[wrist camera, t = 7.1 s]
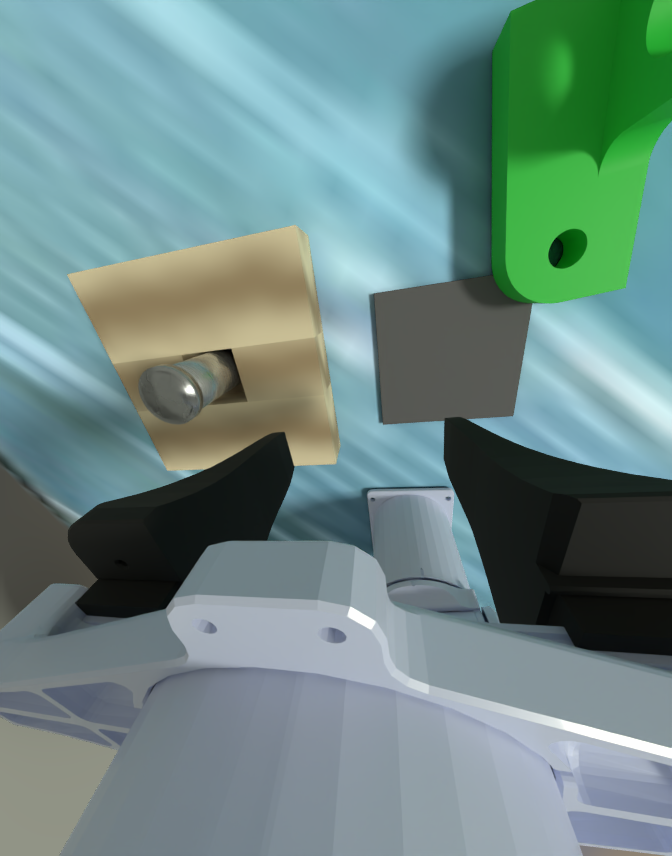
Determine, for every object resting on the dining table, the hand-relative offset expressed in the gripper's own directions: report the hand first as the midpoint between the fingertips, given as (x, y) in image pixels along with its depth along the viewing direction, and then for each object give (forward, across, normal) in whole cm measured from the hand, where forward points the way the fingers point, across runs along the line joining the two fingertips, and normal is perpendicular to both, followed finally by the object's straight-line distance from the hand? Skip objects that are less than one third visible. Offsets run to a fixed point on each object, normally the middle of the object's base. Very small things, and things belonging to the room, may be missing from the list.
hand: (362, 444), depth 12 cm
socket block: (+10, +11, -2) cm, 15 cm away
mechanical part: (+10, -11, -10) cm, 18 cm away
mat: (+10, -6, -1) cm, 12 cm away
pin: (+10, +11, -3) cm, 15 cm away
